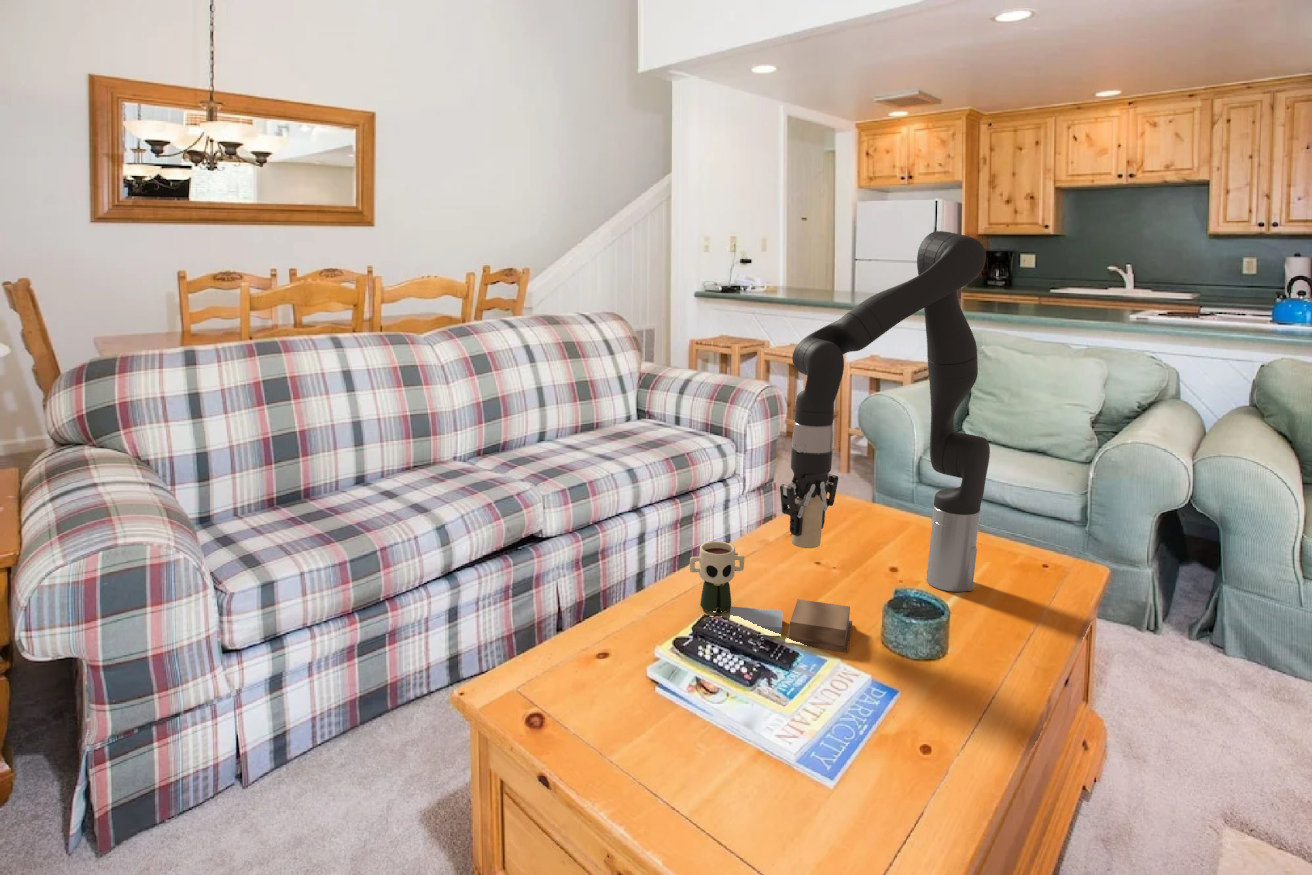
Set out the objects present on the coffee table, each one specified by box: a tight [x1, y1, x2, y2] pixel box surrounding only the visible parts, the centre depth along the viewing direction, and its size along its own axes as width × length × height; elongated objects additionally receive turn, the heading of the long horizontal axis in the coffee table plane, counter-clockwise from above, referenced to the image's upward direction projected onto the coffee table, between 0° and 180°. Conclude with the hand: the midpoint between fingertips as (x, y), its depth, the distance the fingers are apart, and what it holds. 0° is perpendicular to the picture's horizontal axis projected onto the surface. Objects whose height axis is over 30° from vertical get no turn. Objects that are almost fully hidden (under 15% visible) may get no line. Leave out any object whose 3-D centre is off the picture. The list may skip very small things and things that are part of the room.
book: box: [729, 605, 784, 634], centre depth 154 cm, size 10×7×2 cm
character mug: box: [689, 541, 745, 613], centre depth 160 cm, size 11×7×13 cm, turn 96°
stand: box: [785, 598, 853, 653], centre depth 151 cm, size 11×11×4 cm
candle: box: [791, 495, 823, 549], centre depth 154 cm, size 6×6×10 cm
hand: (806, 531), depth 154 cm, fingers closed on candle, 5 cm apart
